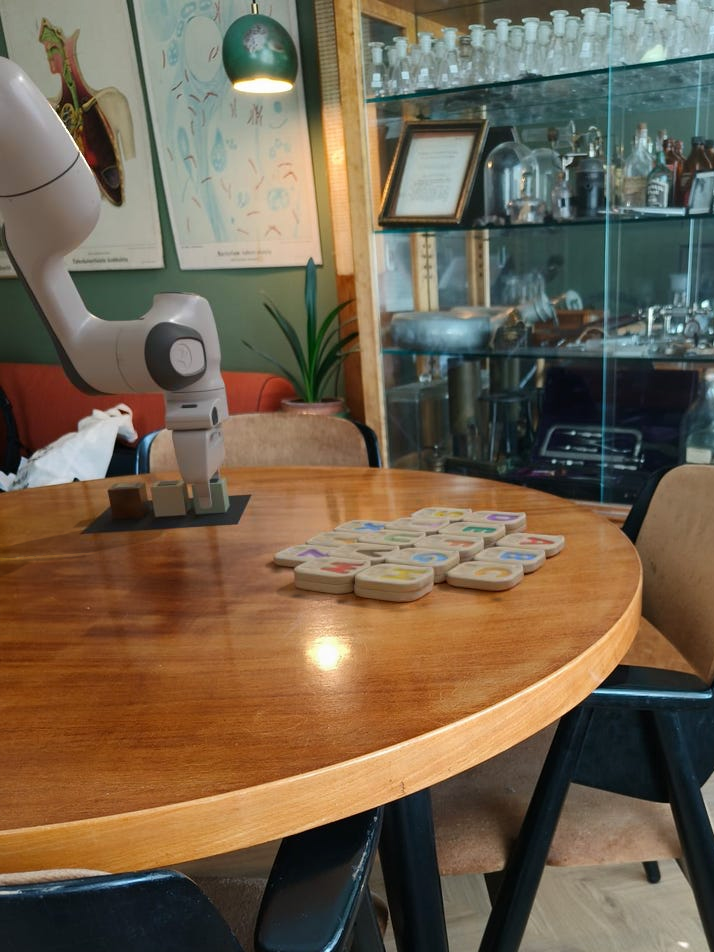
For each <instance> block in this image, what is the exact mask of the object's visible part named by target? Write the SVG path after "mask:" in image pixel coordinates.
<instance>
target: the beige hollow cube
mask: <svg viewBox="0 0 714 952" xmlns="http://www.w3.org/2000/svg"><path fill="white" fill-rule="evenodd" d="M150 494H151V500H152V501H153V507H154V512H155V517H161V516H177V515H186V514H187V512H188V511H189V510H190V508H191V507H190V501H189V498H190V496H189V495H190V494H189V488H188V484H185V483H184V481H183V479H177V480H175V479H174V480H158V481H157V480H156V481H155V482H154V483H153V485H151V486H150Z"/></svg>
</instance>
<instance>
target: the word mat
mask: <svg viewBox="0 0 714 952" xmlns="http://www.w3.org/2000/svg"><path fill="white" fill-rule="evenodd" d="M252 495H253V494H234V495H228V498H229V505H230V506H229V508H228V509H227V511H226V513H210V514H196V513H195V506H194V500H193V497H189V501H190V507H191V508H190V510H189V511H188V512H187V514H186V515H177V516H161V517H155V512H154V507H153V501H152V499H148V502H149V508H150V511H149V512H148V513H147V514H146V516H145V517H144V518H128V519H113V517H112V511H111V506H109V507H107V508H106V509H105V510H104V511H103V512H102V513H100V515H99V516H98V517H96V518H95V519H94V520H93V521H92V522H91V523H90V524H88V526H86V527H85V528H84V529H83V530H81V532H80V533H79V535H89V534H105V533H121V532H136V531H137V532H139V531H154V530H171V529H186V528H187V529H189V528H201V527H204V528H205V527H217V526H234V525H235V526H236V525H239V522H240V521H241V518H242V516H243V514H244V512H245V510H246V508H247V506H248V503H249V502H250V499H251V498H252Z"/></svg>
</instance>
